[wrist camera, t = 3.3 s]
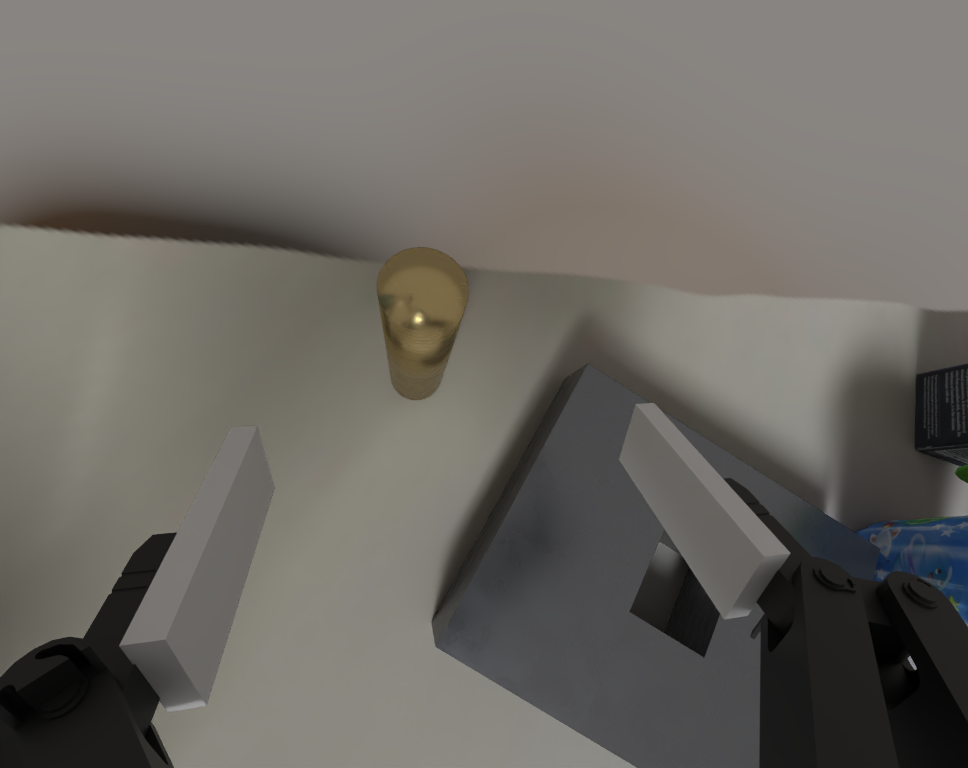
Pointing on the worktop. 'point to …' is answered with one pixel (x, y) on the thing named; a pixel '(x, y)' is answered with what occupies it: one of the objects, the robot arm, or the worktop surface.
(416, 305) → the brass pin
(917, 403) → the small box
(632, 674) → the plate
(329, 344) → the worktop surface
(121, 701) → the robot arm
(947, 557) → the snack cup
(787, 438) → the worktop surface
